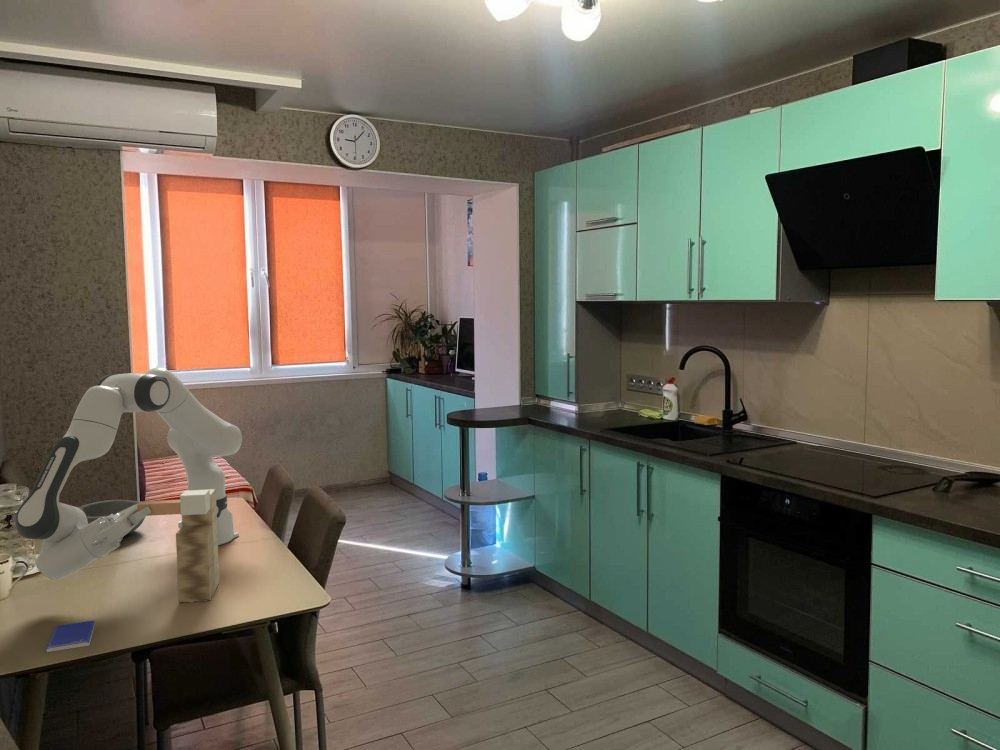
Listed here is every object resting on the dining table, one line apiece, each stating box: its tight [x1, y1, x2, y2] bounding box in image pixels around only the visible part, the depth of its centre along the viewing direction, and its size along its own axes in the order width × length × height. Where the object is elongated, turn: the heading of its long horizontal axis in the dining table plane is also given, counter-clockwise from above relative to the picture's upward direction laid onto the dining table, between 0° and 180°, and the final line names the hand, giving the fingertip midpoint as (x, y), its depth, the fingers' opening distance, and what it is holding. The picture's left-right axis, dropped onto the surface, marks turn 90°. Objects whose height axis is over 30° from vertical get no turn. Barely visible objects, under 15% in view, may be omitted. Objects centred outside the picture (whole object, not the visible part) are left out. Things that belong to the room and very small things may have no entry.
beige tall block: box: [175, 489, 220, 604], centre depth 195 cm, size 8×13×26 cm, turn 11°
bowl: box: [76, 499, 147, 536], centre depth 246 cm, size 23×22×10 cm
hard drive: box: [46, 620, 96, 653], centre depth 170 cm, size 2×8×12 cm
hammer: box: [137, 489, 210, 517], centre depth 190 cm, size 16×6×5 cm, turn 101°
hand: (152, 506), depth 189 cm, fingers closed on hammer, 3 cm apart
